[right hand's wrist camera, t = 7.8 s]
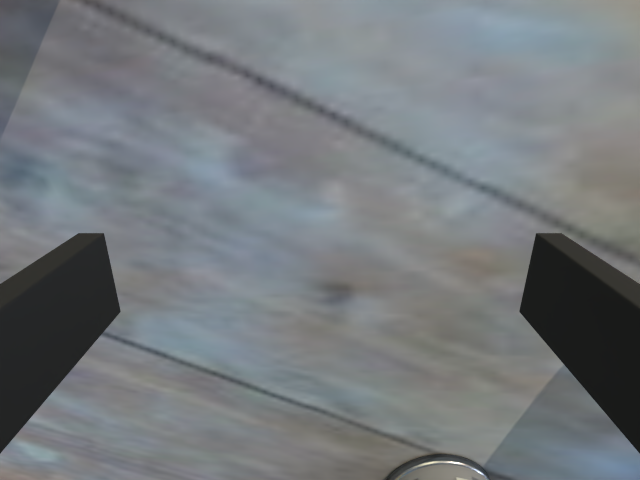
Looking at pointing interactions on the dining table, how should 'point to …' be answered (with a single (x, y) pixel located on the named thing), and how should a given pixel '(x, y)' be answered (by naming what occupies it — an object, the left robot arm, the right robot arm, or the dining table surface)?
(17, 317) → the right robot arm
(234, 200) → the dining table surface
